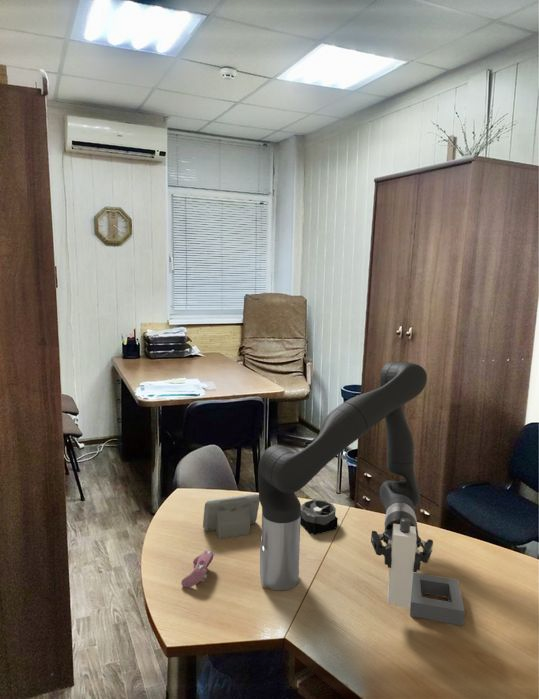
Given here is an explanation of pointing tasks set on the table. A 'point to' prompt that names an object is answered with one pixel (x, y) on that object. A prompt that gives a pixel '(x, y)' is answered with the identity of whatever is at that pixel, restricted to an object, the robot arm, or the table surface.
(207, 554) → the pink curved piece
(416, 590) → the socket
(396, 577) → the plug
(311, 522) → the cpu cooler
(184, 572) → the table surface
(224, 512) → the digital clock
